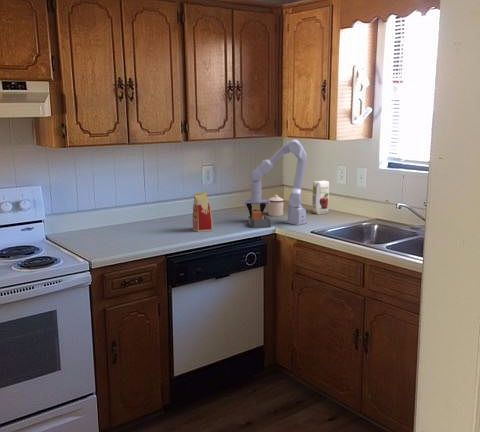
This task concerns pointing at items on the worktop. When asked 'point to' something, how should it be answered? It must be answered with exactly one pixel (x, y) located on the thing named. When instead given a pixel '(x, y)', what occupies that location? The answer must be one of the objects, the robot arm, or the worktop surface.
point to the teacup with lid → (275, 206)
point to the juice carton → (320, 197)
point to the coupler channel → (259, 222)
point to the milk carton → (201, 213)
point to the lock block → (256, 214)
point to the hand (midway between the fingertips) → (255, 217)
